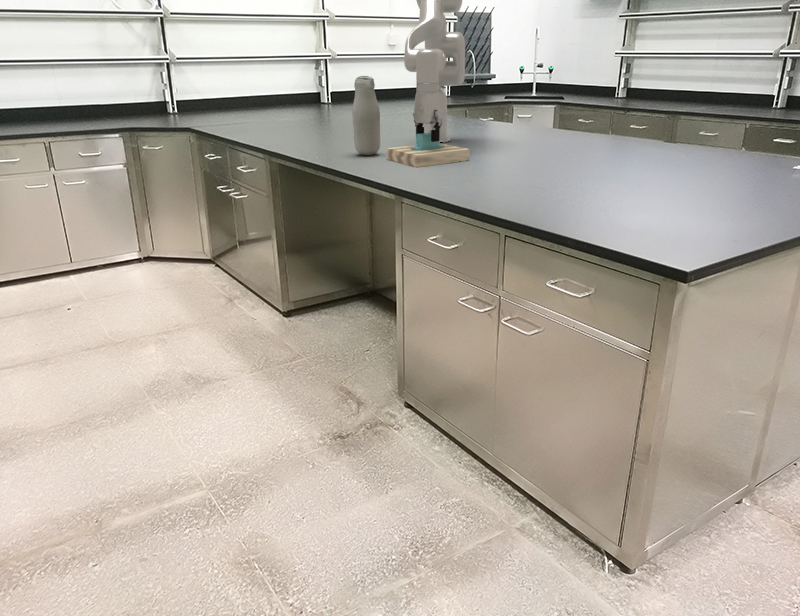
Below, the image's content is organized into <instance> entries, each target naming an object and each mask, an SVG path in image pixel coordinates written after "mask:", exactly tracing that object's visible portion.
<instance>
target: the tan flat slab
mask: <svg viewBox="0 0 800 616" xmlns="http://www.w3.org/2000/svg"><path fill="white" fill-rule="evenodd" d="M439 144H440V145H444V148H439V149H432V150H423V151H421V150H420V151H415V150H411V147H416V144H414V145H413V144H412V145H405V146H404V145H403V146H396V147H395V146H394V147H387V148H386V160H389V161H393V162H396V163H400V164H404V165H407V166H410V167H413V168H414V167H415V168H420V167H429V166H435V165H443V164H445V165H446V164H451V163H452V162H453V163H459V161H461V162H467V161H466V160H469V161H470V154H471V153H470V148H466V147H460V146H456V145H451V144H446V143H439Z"/></svg>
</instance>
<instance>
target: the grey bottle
mask: <svg viewBox="0 0 800 616" xmlns="http://www.w3.org/2000/svg"><path fill="white" fill-rule="evenodd" d="M374 80H375V79H374V78H373V77H372V76H369V75H360V76H357V77H356V78H355V79H354V99H353V104H352V109H351V111H352V114H351V118H352V127H353V140H354V142H353V143H354V147H355V150H356V152H357V153H359V154H360V155H363V156H373V155H375V154H377V153H378V152H379V150H380V148H381V115H380V114H381V113H380V107H379V102H378V100H377V96H376V92H375V86H376V85H375V81H374Z"/></svg>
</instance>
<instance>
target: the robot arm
mask: <svg viewBox="0 0 800 616" xmlns="http://www.w3.org/2000/svg"><path fill="white" fill-rule="evenodd" d="M415 1H416V4H417V6H418V9H419V17H418V18H419V19H418V22H419V23H418V24H417V25H416V26H415V27H414V28H413V29H412V30H411V32H410V33H409V34H408V35H407V37H406V40H405V44H404V54H403V56H404V57H403V60H404V61H403V63H404V68H405V69H406V70H407V71H408V72H409V73H416V77H415V79H416V82H415V83H416V84H415V85H416V93H415V97H414V105H413V106H414V109H413V113H412V116H413V121H414V127H415V135H416V134H422V133H429V131H431V142H437V141H439V143H440V142H443V143H449V142H450V141H451V137H449V136H448V135H447V133H448V132H447V131H448V129H447V126H448V125H447V124H448V122H447V121H448V97H447V94H446V93H445V92H444V90H443V89H442V88H441V87H454V86H455V87H457V86H462V85H463V84H464V82H465V75H466V40H465V37H464V34H463V33H462V32H459V31H447V18H446V15H445V13H447V14H449V13H451V14H453V13H455V14H456V13H458V12H460V10H461V8H462V5H463V0H415ZM423 42H424V48H415V47H417V46H418V45H420V44H421V43H423ZM449 58H450V59H452V60H447V59H449ZM448 141H449V142H448Z"/></svg>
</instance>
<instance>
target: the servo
mask: <svg viewBox="0 0 800 616" xmlns="http://www.w3.org/2000/svg"><path fill="white" fill-rule="evenodd" d="M415 145H416V147H411V150H415V151H420V150H421V151H423V150H432V149H439V148H444V145H440V144H439V141H437V142H431V131H429V133H422V134H416V133H415Z"/></svg>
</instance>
